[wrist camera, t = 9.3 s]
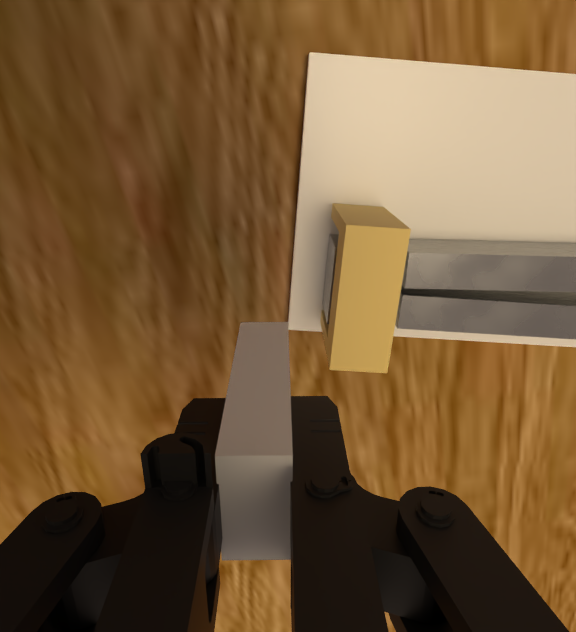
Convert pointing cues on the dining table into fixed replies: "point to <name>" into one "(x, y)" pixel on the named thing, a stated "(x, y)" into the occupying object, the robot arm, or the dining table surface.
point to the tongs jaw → (490, 265)
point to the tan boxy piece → (365, 288)
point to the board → (433, 162)
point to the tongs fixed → (475, 308)
